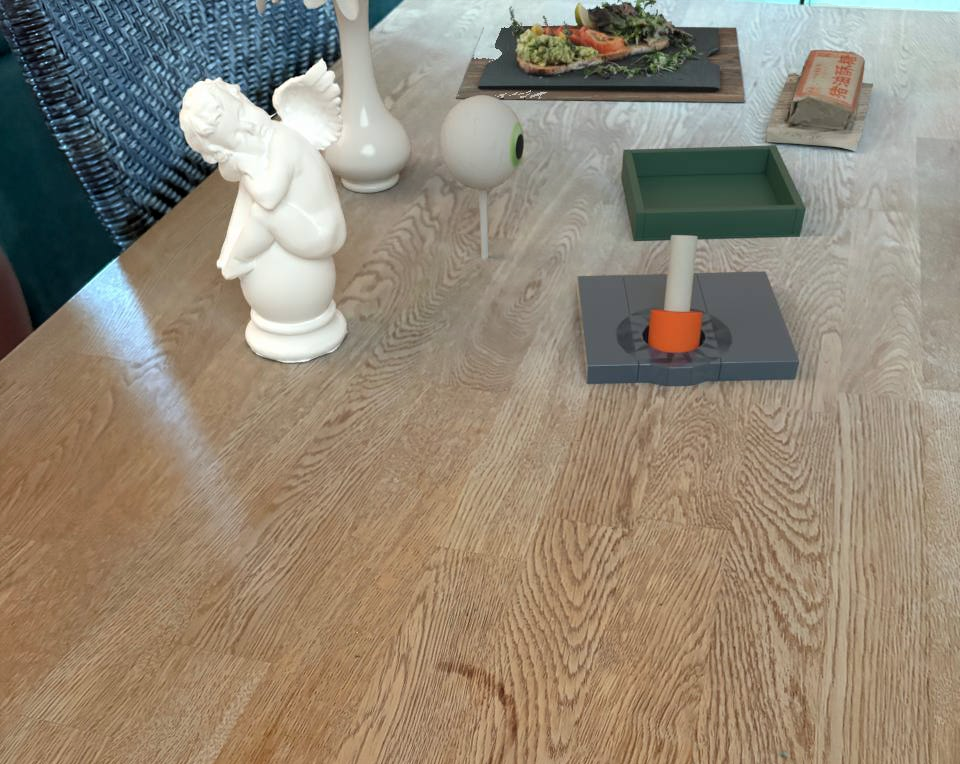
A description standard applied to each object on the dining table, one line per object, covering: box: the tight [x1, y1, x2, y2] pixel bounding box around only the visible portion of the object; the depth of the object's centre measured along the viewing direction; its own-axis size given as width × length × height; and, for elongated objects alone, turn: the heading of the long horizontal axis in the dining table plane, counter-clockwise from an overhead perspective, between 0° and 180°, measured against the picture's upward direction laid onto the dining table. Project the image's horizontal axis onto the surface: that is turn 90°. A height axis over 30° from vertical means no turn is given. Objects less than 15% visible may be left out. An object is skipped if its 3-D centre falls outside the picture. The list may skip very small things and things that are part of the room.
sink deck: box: [576, 270, 800, 387], centre depth 83 cm, size 16×15×3 cm
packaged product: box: [765, 49, 874, 152], centre depth 114 cm, size 18×5×10 cm
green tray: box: [620, 144, 807, 242], centre depth 101 cm, size 16×15×3 cm
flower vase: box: [254, 0, 413, 194], centre depth 99 cm, size 13×18×25 cm
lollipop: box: [439, 95, 525, 260], centre depth 89 cm, size 7×7×15 cm
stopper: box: [647, 235, 703, 353], centre depth 79 cm, size 4×4×9 cm
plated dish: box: [455, 0, 746, 103], centre depth 129 cm, size 35×28×7 cm
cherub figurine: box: [178, 57, 349, 364], centre depth 80 cm, size 12×12×22 cm
